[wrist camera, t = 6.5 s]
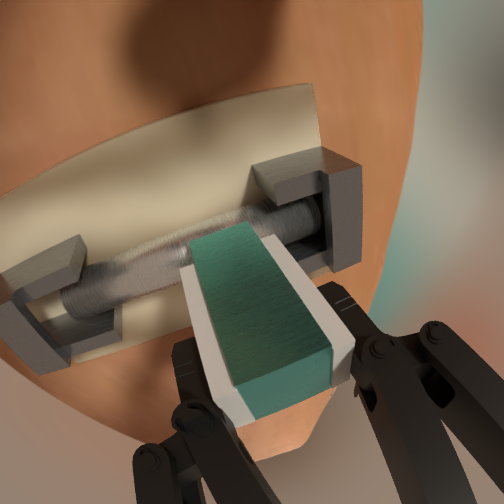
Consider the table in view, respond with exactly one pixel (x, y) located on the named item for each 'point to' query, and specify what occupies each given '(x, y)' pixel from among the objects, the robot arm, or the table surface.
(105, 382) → the table surface
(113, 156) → the board
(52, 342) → the bracket
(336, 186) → the socket
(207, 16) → the table surface
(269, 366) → the teal and grey t-piece
